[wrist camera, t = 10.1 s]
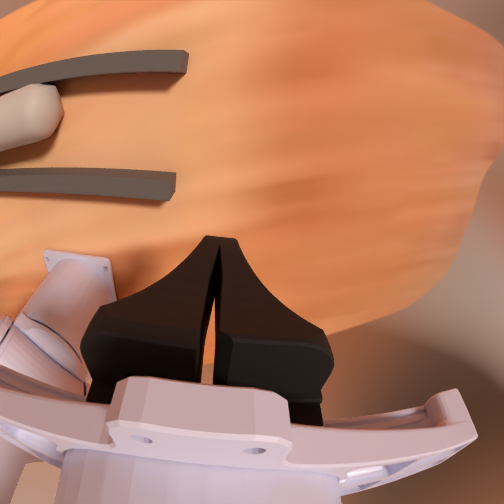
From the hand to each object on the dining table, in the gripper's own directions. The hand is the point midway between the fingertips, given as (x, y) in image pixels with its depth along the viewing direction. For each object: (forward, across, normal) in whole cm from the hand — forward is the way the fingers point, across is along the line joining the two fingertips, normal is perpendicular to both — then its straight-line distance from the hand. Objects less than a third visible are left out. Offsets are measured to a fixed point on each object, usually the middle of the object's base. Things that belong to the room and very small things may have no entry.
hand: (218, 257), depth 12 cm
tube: (+11, +26, -4) cm, 28 cm away
